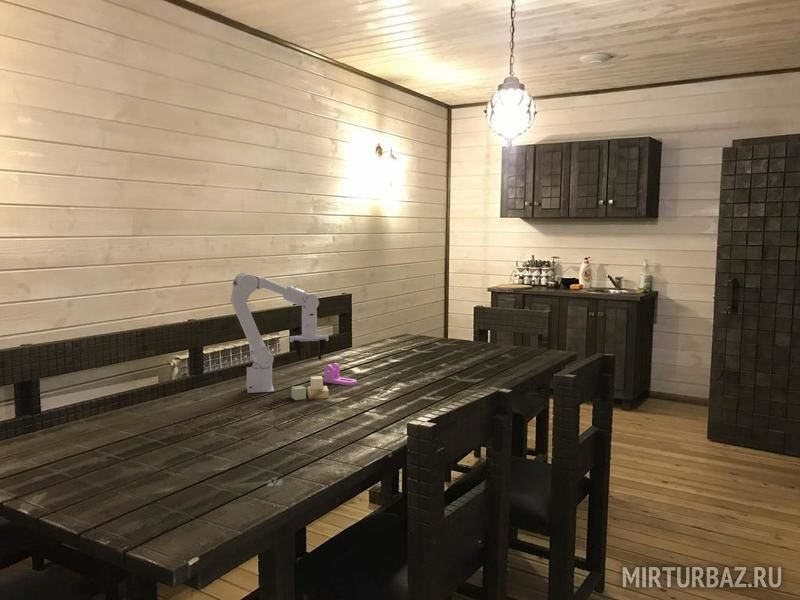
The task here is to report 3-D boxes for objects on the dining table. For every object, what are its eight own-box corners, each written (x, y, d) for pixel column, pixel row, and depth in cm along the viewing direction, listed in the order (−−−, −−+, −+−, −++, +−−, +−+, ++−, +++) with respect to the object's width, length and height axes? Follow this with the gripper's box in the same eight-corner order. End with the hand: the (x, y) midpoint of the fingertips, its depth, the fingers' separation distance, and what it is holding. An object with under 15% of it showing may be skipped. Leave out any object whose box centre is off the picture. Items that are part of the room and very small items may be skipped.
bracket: (324, 382, 251) (324, 364, 250) (331, 379, 256) (331, 362, 255) (352, 386, 245) (352, 368, 244) (359, 383, 250) (359, 366, 249)
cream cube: (311, 390, 228) (311, 379, 228) (310, 387, 232) (310, 376, 232) (323, 389, 229) (323, 378, 229) (321, 386, 233) (321, 376, 233)
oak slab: (309, 399, 227) (308, 391, 226) (307, 394, 233) (307, 386, 233) (328, 398, 228) (328, 390, 228) (326, 393, 235) (326, 385, 235)
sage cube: (295, 400, 224) (295, 389, 224) (291, 397, 228) (291, 386, 227) (306, 399, 226) (306, 388, 226) (302, 396, 230) (302, 385, 229)
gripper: (291, 326, 237) (291, 362, 239) (329, 325, 241) (329, 361, 243) (289, 324, 244) (289, 358, 246) (327, 323, 248) (327, 357, 249)
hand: (309, 359), depth 245 cm, fingers open, 7 cm apart
